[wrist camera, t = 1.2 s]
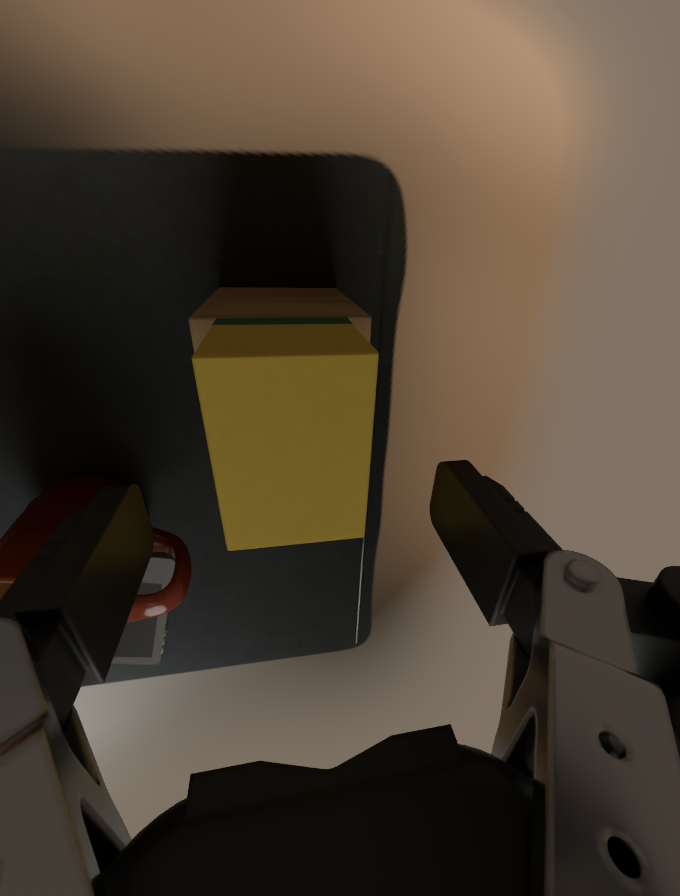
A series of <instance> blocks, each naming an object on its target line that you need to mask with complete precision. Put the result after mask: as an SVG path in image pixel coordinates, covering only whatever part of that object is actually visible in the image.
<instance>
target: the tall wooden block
mask: <svg viewBox="0 0 680 896" xmlns="http://www.w3.org/2000/svg"><path fill="white" fill-rule="evenodd" d="M286 317H347V318H348V319H349V320H350V321H351V322H352V323H353V325H354V326H355V327H356V328H357V329H358V331H359V332H360V333H361V334H362V335H363V336H364V337H365V338H366V339H367V341H368V342H369V343H370V333H371V316H369V315H368V314H367V313H366V312H365V311H363V310H362V309H361V308H360V307H359V306H357V305H356V304H355V303H354V302H353V301H351V300H350V299H349V298H348V297H347V296H345V295H344V294H343V293H342V292H341V291H339V290H338V289H337V288H229V287H219V288H218V289H217V290H216V291H215V292H214V293H213V294H212V295H211V296H210V297H209V298H208V299H207V300H206V301H205V302H204V303H203V304H202V305H201V306H200V307H199V308H198V309H197V310H196V311H195V312H194V313H193V314H192V315H191V316H190V318H189V326H190V331H191V337H192V342H193V348H194V353H195V351H196V350H197V348H198V347H199V345H200V344H201V342H202V340H203V339H204V337H205V336H206V334H207V333H208V331H209V330H210V328H211V326H212V324H213V322H214V321H215V319H216V318H286Z"/></svg>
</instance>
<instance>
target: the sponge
mask: <svg viewBox="0 0 680 896" xmlns="http://www.w3.org/2000/svg"><path fill="white" fill-rule="evenodd" d="M378 356H379V354H378V352H377V351H376V349H375V348H374V347H373V346H372V345H371V344H370V343H369V342H368V341H367V339H366V338H365V337H364V336H363V335H362V334H361V333H360V332H359V331H358V329H357V328H356V327H355V326H354V325H353V323H352V322H351V321H350V320H349V319H348V318H347V317H286V318H216V319H215V321H214V322H213V324H212V326H211V328H210V330H209V331H208V333H207V334H206V336H205V337H204V339H203V340H202V342H201V344H200V345H199V347H198V348H197V350H196V351H195V353H194V354H193V356H192V363H193V368H194V374H195V379H196V384H197V390H198V395H199V401H200V406H201V411H202V417H203V422H204V427H205V433H206V438H207V444H208V449H209V454H210V460H211V465H212V470H213V476H214V481H215V487H216V492H217V497H218V503H219V508H220V513H221V519H222V524H223V530H224V535H225V540H226V546H227V549H228V551H233V550H242V549H252V548H262V547H272V546H282V545H292V544H302V543H311V542H321V541H331V540H341V539H351V538H361V537H364V535H365V523H366V510H367V497H368V485H369V472H370V459H371V446H372V433H373V421H374V408H375V395H376V382H377V369H378Z"/></svg>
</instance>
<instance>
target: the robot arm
mask: <svg viewBox="0 0 680 896" xmlns="http://www.w3.org/2000/svg"><path fill="white" fill-rule="evenodd" d="M430 516H431V521H432V524H433V526H434V528H435V530H436V532H437V533H438V535H439V537H440V539H441V540H442V542H443V544H444V546H445V548H446V549H447V551H448V552H449V555H450V556H451V558H452V560H453V562H454V563H455V565H456V567H457V569H458V570H459V572H460V574H461V576H462V578H463V579H464V581H465V583H466V585H467V587H468V588H469V590H470V592H471V594H472V595H473V597H474V599H475V600H476V602H477V604H478V606H479V608H480V610H481V611H482V613H483V615H484V616H485V618H486V620H487V622H488V624H489V625H490V626H496V625H502V624H509V626H510V627H511V629H512V631H513V634H512V637H511V639H510V647H509V654H508V663H507V670H506V678H505V686H504V694H503V703H502V711H501V717H500V722H499V726H498V730H497V733H496V736H495V740H494V744H493V749H492V754H489V753H487V752H484V751H482V750H480V749H476V748H473V747H469V746H466V745H461V744H458V743H457V740H456V738H455V735H454V732H453V730H452V727H451V725H450V724H449V725H444V726H438V727H434V728H428V729H423V730H418V731H412V732H407V733H402V734H397V735H392V736H390V737H388V738H386V739H385V740H383V741H381V742H379V743H378V744H376V745H374V746H372V747H370V748H369V749H367V750H365V751H363V752H362V753H360V754H358V755H356V756H355V757H353V758H351V759H349V760H347V761H346V762H344V763H342V764H340V765H338V766H337V767H334V768H331V769H318V768H310V767H302V766H296V765H288V764H280V763H273V762H265V761H256V762H251V763H246V764H241V765H235V766H230V767H225V768H220V769H215V770H210V771H204V772H199V773H194V774H191V775H190V782H189V789H188V795H187V798H186V799H184V800H182V801H180V802H178V803H177V804H175V805H174V806H172V807H171V808H169V809H168V810H166V811H165V812H163V813H162V814H160V815H159V816H158V817H157V818H156V819H154V820H153V821H152V822H151V823H150V824H149V825H148V826H146V827H145V828H144V829H143V830H141V831H140V832H139V833H138V834H137V835H136V836H135V837H134V838H133V839H132V840H131V838H130V835H129V833H128V831H127V829H126V826H125V824H124V822H123V820H122V818H121V816H120V814H119V812H118V810H117V809H116V807H115V805H114V803H113V801H112V799H111V797H110V795H109V793H108V790H107V788H106V785H105V783H104V781H103V778H102V775H101V773H100V770H99V767H98V765H97V762H96V760H95V757H94V755H93V752H92V749H91V747H90V744H89V742H88V739H87V736H86V734H85V731H84V728H83V726H82V723H81V721H80V718H79V716H78V713H77V710H76V709H75V707H74V705H73V704H74V701H75V699H76V697H77V694H78V692H79V690H80V687H81V686H85V685H91V684H98V683H104V682H105V679H106V676H107V674H108V671H109V668H110V666H111V663H112V660H113V658H114V655H115V652H116V650H117V647H118V644H119V641H120V639H121V636H122V633H123V631H124V628H125V625H126V623H127V620H128V617H129V615H130V612H131V609H132V607H133V604H134V601H135V598H136V596H137V593H138V590H139V588H140V585H141V582H142V580H143V577H144V574H145V572H146V569H147V566H148V564H149V561H150V558H151V555H152V552H153V547H154V533H153V528H152V525H151V522H150V519H149V516H148V512H147V509H146V506H145V503H144V500H143V497H142V493H141V490H140V488H139V486H138V485H137V484H121V485H108V486H101V487H99V488H98V490H97V491H96V493H95V494H94V496H93V497H92V498H91V500H90V501H89V503H88V504H87V506H86V507H85V508H77V509H76V510H74V511H73V512H72V513H70V514H69V515H68V516H66V517H65V518H64V519H62V520H61V521H60V522H58V523H57V524H56V526H55V527H54V528H53V530H52V531H51V532H50V534H49V535H48V536H47V538H46V539H45V541H44V544H42V545H41V546H40V547H39V549H38V550H37V551H36V553H35V554H34V555H33V559H32V560H30V561H29V562H28V563H27V565H26V566H25V567H24V569H23V570H22V571H21V573H20V574H19V576H18V577H17V578H16V580H15V581H14V582H13V584H12V585H11V586H10V588H9V589H8V590H7V592H6V593H5V594H4V596H3V597H2V598H1V600H0V896H680V566H670V567H666V568H664V569H663V570H661V572H660V573H659V575H658V576H657V578H656V579H655V581H654V582H653V583H651V582H645V581H637V580H631V579H624V578H618V577H616V576H615V575H614V574H613V573H612V572H611V571H610V570H609V569H608V568H607V567H605V566H604V565H603V564H601V563H600V562H598V561H596V560H595V559H593V558H591V557H588V556H587V555H584V554H581V553H578V552H574V551H568V550H562V549H561V547H560V546H559V545H558V544H557V543H556V542H555V541H554V540H553V539H552V538H551V537H550V536H549V535H548V534H547V533H546V531H544V529H543V528H542V527H541V526H540V525H539V524H538V523H537V522H536V521H535V520H534V519H533V518H532V516H531V515H530V514H529V513H528V512H525V511H524V508H523V507H522V506H521V505H520V504H519V503H518V501H515V499H514V497H513V496H512V495H511V494H510V493H509V492H508V491H507V490H506V489H505V488H504V487H503V486H502V485H500V484H499V483H497V482H496V481H494V480H492V479H491V478H489V477H487V476H482V475H481V474H480V473H479V472H478V471H477V470H476V468H475V467H474V466H473V465H472V464H471V463H470V462H469V461H467V460H459V461H445V462H440V463H439V464H438V466H437V470H436V474H435V480H434V485H433V491H432V496H431V501H430Z"/></svg>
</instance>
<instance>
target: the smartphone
mask: <svg viewBox="0 0 680 896" xmlns="http://www.w3.org/2000/svg"><path fill="white" fill-rule="evenodd" d="M174 566H175V558H174V557H173V556H172V555H170V554H168V553H165V552H152V555H151V558H150V561H149V564H148V566H147V569H146V572H145V574H144V577H143V580H142V582H141V585H140V588H139V590H138V593H137V594H151V593H155V592H158V591H160V590H162V589H163V588H165V587H166V586H167V585H168V584H169V583H170V581H171V578H172V575H173V572H174ZM167 617H168V612H167V613H165V614H163V615H160V616H157V617H153V618H148V619H143V620H139V621H136V622H128V623H126V625H125V628H124V631H123V633H122V636H121V639H120V641H119V644H118V647H117V650H116V652H115V655H114V658H113V660H112V663H111V664H151V665H156V664H158V663H159V662H160V658H161V655H162V653H163V645H164V642H165V638H164V636H165V635H166V631H167V630H166V624H167Z"/></svg>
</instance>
